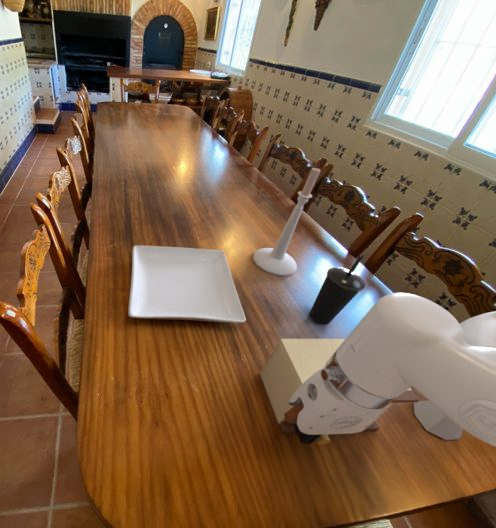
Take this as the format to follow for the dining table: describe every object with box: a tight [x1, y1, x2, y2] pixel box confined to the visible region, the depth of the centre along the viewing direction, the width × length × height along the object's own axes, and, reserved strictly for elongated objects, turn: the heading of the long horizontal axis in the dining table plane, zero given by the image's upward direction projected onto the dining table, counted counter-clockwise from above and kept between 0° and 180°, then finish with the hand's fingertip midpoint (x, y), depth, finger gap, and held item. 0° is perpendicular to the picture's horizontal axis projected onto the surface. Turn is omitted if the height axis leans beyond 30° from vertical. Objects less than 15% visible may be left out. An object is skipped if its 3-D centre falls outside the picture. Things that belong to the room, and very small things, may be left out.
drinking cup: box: [308, 254, 366, 326], centre depth 68 cm, size 8×8×20 cm
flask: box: [412, 399, 464, 441], centre depth 53 cm, size 7×7×10 cm
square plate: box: [127, 245, 247, 324], centre depth 78 cm, size 27×27×4 cm
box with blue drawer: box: [259, 338, 420, 434], centre depth 54 cm, size 12×18×12 cm, turn 93°
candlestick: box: [252, 167, 321, 277], centre depth 82 cm, size 13×13×30 cm
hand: (302, 433), depth 49 cm, fingers closed
